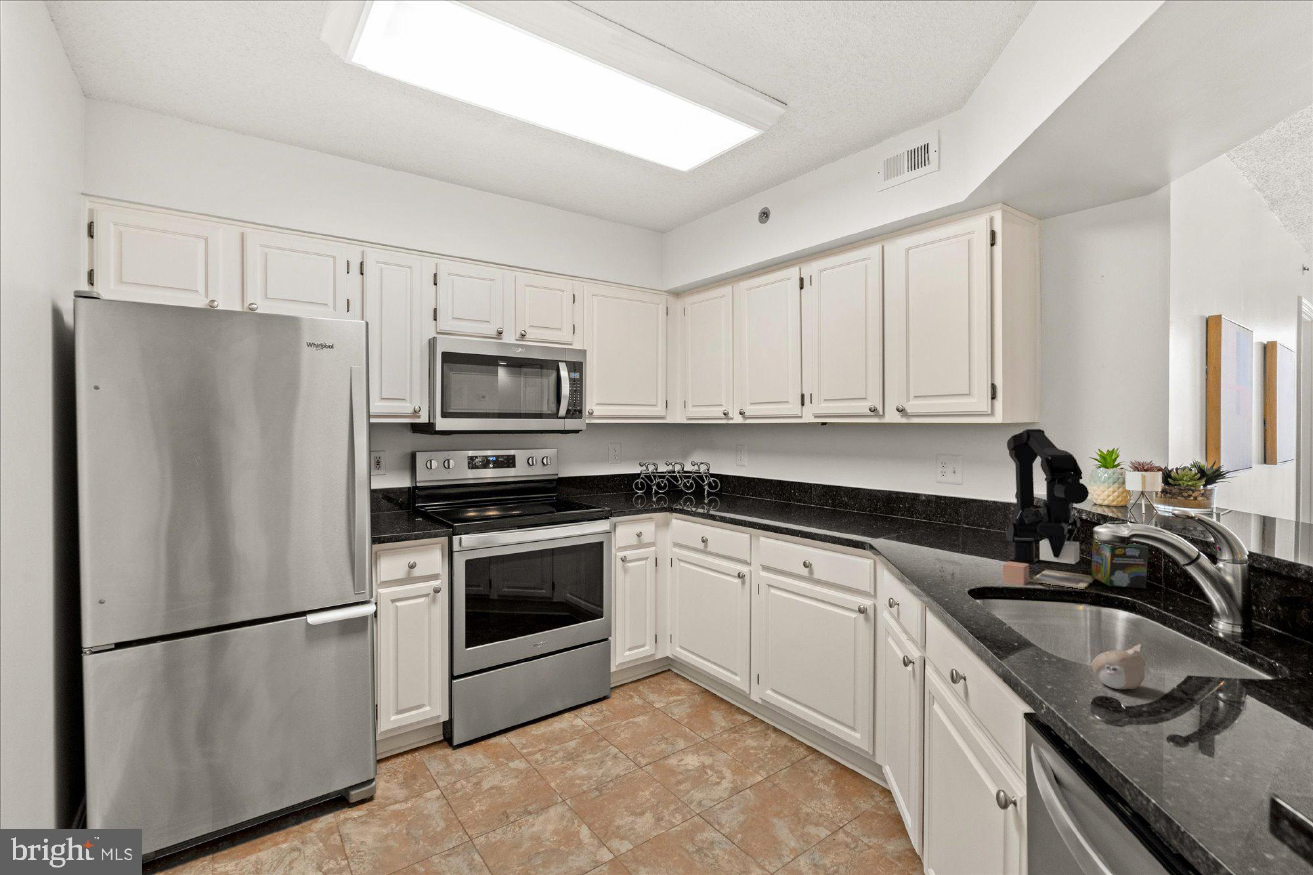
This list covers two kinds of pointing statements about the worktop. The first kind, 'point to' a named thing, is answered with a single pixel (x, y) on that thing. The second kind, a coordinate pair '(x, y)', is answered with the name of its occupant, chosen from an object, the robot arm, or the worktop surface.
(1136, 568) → the chalk box
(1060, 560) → the base brick
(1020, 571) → the pink cube
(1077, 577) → the board
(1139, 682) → the beige toy figurine
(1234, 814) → the worktop surface
